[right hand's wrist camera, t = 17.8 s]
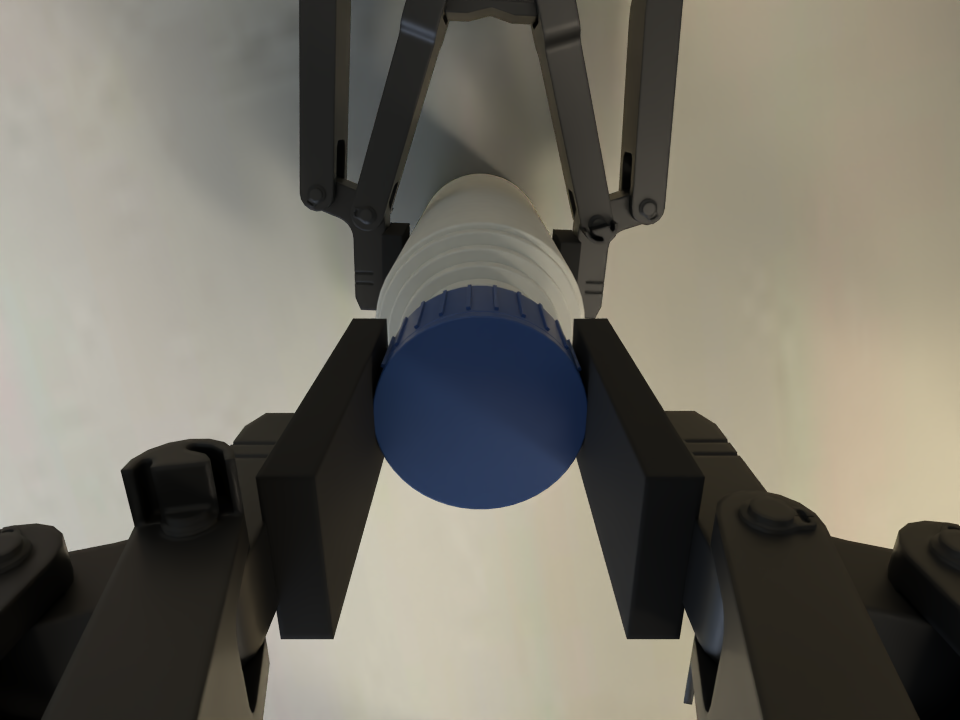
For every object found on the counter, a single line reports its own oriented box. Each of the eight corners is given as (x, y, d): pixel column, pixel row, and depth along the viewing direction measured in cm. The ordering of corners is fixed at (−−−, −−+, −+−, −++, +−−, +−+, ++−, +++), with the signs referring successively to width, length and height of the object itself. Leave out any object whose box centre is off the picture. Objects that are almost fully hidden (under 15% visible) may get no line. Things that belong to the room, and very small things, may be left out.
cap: (356, 413, 15) (335, 462, 13) (433, 247, 13) (425, 272, 11) (520, 483, 15) (525, 541, 13) (610, 333, 14) (633, 373, 12)
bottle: (401, 259, 31) (290, 462, 13) (454, 150, 29) (412, 209, 11) (503, 312, 32) (533, 568, 14) (561, 209, 30) (683, 354, 12)
